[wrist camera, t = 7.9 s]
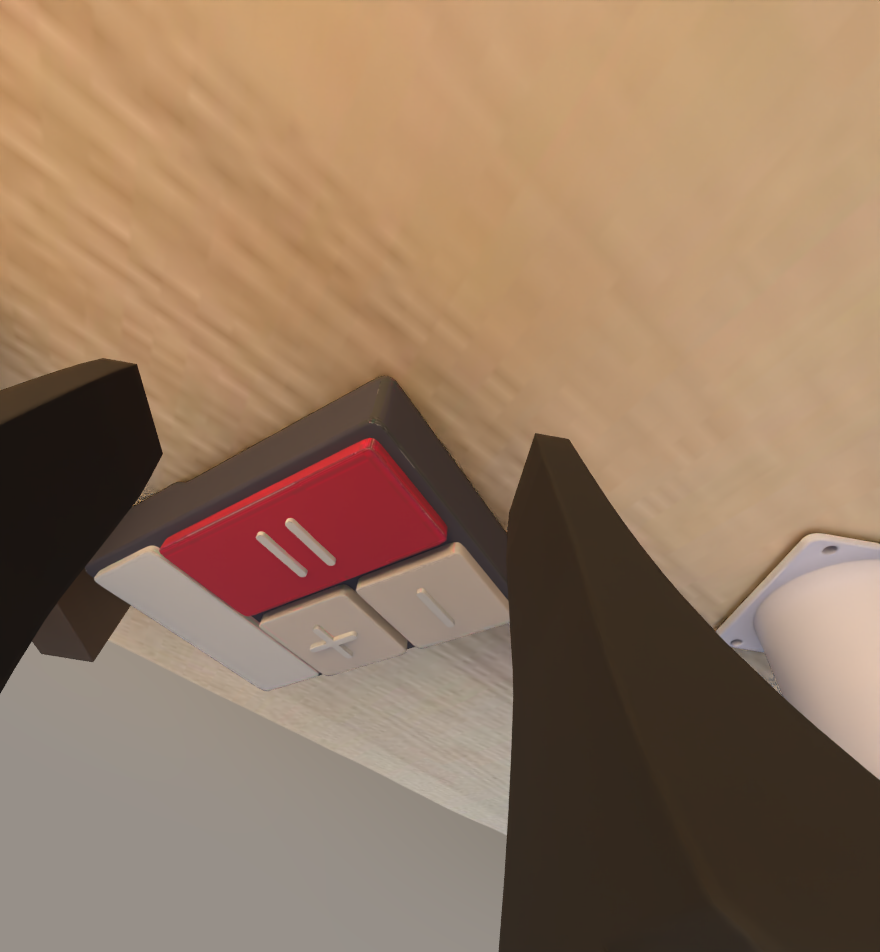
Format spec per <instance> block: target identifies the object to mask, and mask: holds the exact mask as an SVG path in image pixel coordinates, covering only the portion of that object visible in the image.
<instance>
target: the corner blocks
mask: <svg viewBox="0 0 880 952" xmlns="http://www.w3.org/2000/svg"><path fill="white" fill-rule="evenodd" d="M130 606H131V605H130V604H128V603H127V602H125V601H124V600H122V599H121V598H119V597H117V596H116V595H114V594H113V593H111V592H110V591H108V590H107V589H105V588H104V587H102V586H101V585H99V584H98V583H97V582H95V580H94V578H93V577H92V576H90V575H89V574H88V573H87V572H86V570H85V568H84V569H83V570H82V571H81V573H80V574H79V575H78V577H77V578H76V579H75V580H74V582H73V583H72V584H71V585H70V587H69V588H68V589H67V591H66V592H65V593H64V594H63V596H62V597H61V598H60V600H59V601H58V603H57V604H56V605H55V607H54V608H53V610H52V611H51V612H50V614H49V615H48V617H47V618H46V619H45V621H44V622H43V624H42V626H41V627H40V629H39V630H38V632H37V634H36V635H35V637H34V638H33V640H32V642H33V643H34V645H35V646H36V647H37V649H38V650H39V651H40V653H41V654H46V655H52V656H59V657H64V658H70V659H76V660H83V661H89V662H93V661H94V660H95V659H96V657H97V655H98V654H99V653H100V651H101V650H102V648H103V647H104V645H105V643H106V642H107V641H108V639H109V638H110V636H111V635H112V633H113V632H114V630H115V629H116V627H117V626H118V624H119V623H120V621H121V619H122V618H123V616H124V615H125V613H126V612H127V610H128V609H129V607H130Z"/></svg>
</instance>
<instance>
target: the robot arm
mask: <svg viewBox="0 0 880 952" xmlns="http://www.w3.org/2000/svg"><path fill="white" fill-rule="evenodd" d="M162 454H163V453H162V449H161V446H160V442H159V439H158V435H157V432H156V428H155V425H154V422H153V418H152V415H151V411H150V408H149V404H148V401H147V397H146V394H145V390H144V387H143V384H142V380H141V377H140V373H139V370H138V366H137V364H133V363H127V362H121V361H115V360H110V359H104V358H102V359H98V360H94V361H89V362H86V363H82V364H78V365H75V366H72V367H68V368H65V369H62V370H59V371H56V372H53V373H50V374H47V375H44V376H41V377H38V378H35V379H32V380H29V381H26V382H23V383H20V384H18V385H15V386H12V387H9V388H6V389H3V390H0V693H1V691H2V690H3V688H4V686H5V684H6V683H7V681H8V679H9V678H10V676H11V674H12V672H13V671H14V669H15V667H16V666H17V664H18V663H19V661H20V659H21V658H22V656H23V655H24V653H25V651H26V650H27V648H28V646H29V645H30V643H31V642H32V640H33V638H34V637H35V635H36V634H37V632H38V630H39V629H40V627H41V626H42V624H43V622H44V621H45V619H46V618H47V617H48V615H49V614H50V612H51V611H52V610H53V608H54V607H55V605H56V604H57V603H58V601H59V600H60V598H61V597H62V596H63V594H64V593H65V592H66V591H67V589H68V588H69V587H70V585H71V584H72V583H73V582H74V580H75V579H76V578H77V577H78V575H79V574H80V573H81V571H82V570H83V569H84V568H85V566H86V565H87V564H88V563H89V561H90V560H91V559H92V557H93V556H94V555H95V554H96V552H97V551H98V550H99V549H100V547H101V546H102V545H103V543H104V542H105V541H106V540H107V538H108V537H109V536H110V535H111V533H112V532H113V531H114V529H115V528H116V527H117V525H118V524H119V523H120V522H121V520H122V519H123V518H124V516H125V515H126V514H127V512H128V511H129V510H130V508H131V507H132V506H133V504H134V503H135V502H136V500H137V499H138V498H139V496H140V494H141V493H142V491H143V489H144V487H145V486H146V484H147V482H148V481H149V479H150V477H151V475H152V473H153V471H154V469H155V468H156V466H157V464H158V462H159V460H160V458H161V456H162ZM506 567H507V585H508V602H509V618H510V633H511V649H512V665H513V721H512V750H511V771H510V792H509V812H508V828H507V844H506V860H505V861H506V862H505V876H504V877H505V878H504V890H503V903H502V916H501V929H500V942H499V952H880V543H875V542H869V541H863V540H858V539H852V538H846V537H840V536H835V535H829V534H823V533H813V534H809V535H807V536H805V537H804V538H803V539H802V540H801V541H800V542H799V543H798V544H797V545H796V546H795V547H794V548H793V549H792V550H791V551H790V552H789V553H788V554H787V556H786V557H785V558H784V559H783V560H782V561H781V562H780V563H779V564H778V565H777V566H776V567H775V568H774V569H773V570H772V572H771V573H770V574H769V575H768V576H767V577H766V578H765V579H764V580H763V581H762V582H761V583H760V584H759V585H758V587H757V588H756V589H755V590H754V591H753V592H752V593H751V594H750V595H749V596H748V597H747V598H746V599H745V600H744V601H743V603H742V604H741V605H740V606H739V607H738V608H737V609H736V610H735V611H734V612H733V613H732V614H731V615H730V616H729V617H728V619H727V620H726V621H725V622H724V623H723V624H722V625H721V626H720V627H719V628H718V629H717V630H716V631H714V630H713V629H712V627H711V626H710V625H709V624H708V623H707V622H706V621H705V620H704V619H703V618H702V617H701V615H700V614H699V613H698V612H697V611H696V610H695V609H694V608H693V607H692V606H691V605H690V604H689V602H688V601H687V600H686V599H685V598H684V597H683V596H682V595H681V594H680V593H679V591H678V590H677V589H676V588H675V587H674V586H673V584H672V583H671V582H670V581H669V580H668V579H667V577H666V576H665V575H664V574H663V573H662V571H661V570H660V569H659V568H658V566H657V565H656V564H655V563H654V561H653V560H652V559H651V557H650V556H649V555H648V554H647V552H646V551H645V550H644V549H643V547H642V546H641V545H640V544H639V542H638V541H637V540H636V538H635V537H634V536H633V534H632V533H631V532H630V530H629V529H628V528H627V526H626V525H625V523H624V522H623V521H622V519H621V518H620V516H619V515H618V513H617V512H616V511H615V509H614V508H613V506H612V505H611V503H610V502H609V501H608V499H607V498H606V496H605V495H604V493H603V492H602V490H601V489H600V487H599V485H598V484H597V482H596V481H595V479H594V478H593V476H592V475H591V473H590V472H589V470H588V468H587V467H586V465H585V464H584V462H583V461H582V459H581V458H580V456H579V454H578V453H577V451H576V450H575V448H574V447H573V445H572V443H571V442H570V440H569V439H565V438H559V437H554V436H548V435H542V434H536V433H535V436H534V439H533V442H532V445H531V448H530V451H529V454H528V457H527V460H526V463H525V466H524V469H523V472H522V475H521V478H520V481H519V484H518V487H517V490H516V493H515V496H514V499H513V502H512V505H511V509H510V512H509V521H508V536H507V553H506ZM731 647H734V648H740V649H746V650H752V651H758V652H764V653H765V655H766V657H767V660H768V662H769V664H770V667H771V669H772V671H773V674H774V676H775V678H776V681H777V683H778V685H779V688H780V690H781V692H782V695H783V697H782V696H781V695H780V694H779V693H778V692H777V691H776V690H775V689H774V688H773V687H772V686H771V685H770V684H769V683H768V682H767V681H765V680H764V679H763V678H762V677H761V676H760V675H759V674H758V673H757V672H756V671H755V670H754V669H753V668H752V667H751V666H750V665H749V664H748V663H747V662H746V661H744V660H743V659H742V658H741V657H740V656H739V655H738V654H737V653H736V652H735V651H734V650H733V649H732V648H731Z"/></svg>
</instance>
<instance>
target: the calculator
mask: <svg viewBox="0 0 880 952" xmlns="http://www.w3.org/2000/svg"><path fill="white" fill-rule="evenodd" d="M507 536H508V535H507V533H506V532H505V531H504V529H503V528H502V527H501V525H500V524H499V522H498V521H497V520H496V518H495V517H494V516H493V514H492V513H491V511H490V510H489V509H488V507H487V506H486V505H485V503H484V502H483V500H482V499H481V498H480V496H479V495H478V493H477V492H476V491H475V489H474V488H473V487H472V485H471V484H470V482H469V481H468V480H467V478H466V477H465V476H464V474H463V473H462V471H461V470H460V469H459V467H458V466H457V465H456V463H455V462H454V460H453V459H452V458H451V456H450V455H449V454H448V452H447V451H446V449H445V448H444V447H443V445H442V444H441V442H440V441H439V440H438V438H437V437H436V436H435V434H434V433H433V431H432V430H431V429H430V427H429V426H428V425H427V423H426V422H425V420H424V419H423V418H422V416H421V415H420V414H419V412H418V411H417V409H416V408H415V407H414V405H413V404H412V402H411V401H410V400H409V398H408V397H407V396H406V394H405V393H404V391H403V390H402V389H401V387H400V386H399V385H398V383H397V382H396V381H395V380H394V379H392V378H391V377H388V376H381V377H378V378H376V379H374V380H372V381H370V382H369V383H367V384H365V385H363V386H361V387H359V388H358V389H356V390H354V391H352V392H350V393H349V394H347V395H345V396H343V397H341V398H339V399H338V400H336V401H334V402H332V403H330V404H329V405H327V406H325V407H323V408H321V409H319V410H318V411H316V412H314V413H312V414H310V415H309V416H307V417H305V418H303V419H301V420H299V421H298V422H296V423H294V424H292V425H290V426H288V427H287V428H285V429H283V430H281V431H279V432H278V433H276V434H274V435H272V436H270V437H268V438H267V439H265V440H263V441H261V442H259V443H258V444H256V445H254V446H252V447H250V448H248V449H247V450H245V451H243V452H241V453H239V454H238V455H236V456H234V457H232V458H230V459H228V460H227V461H225V462H223V463H221V464H219V465H218V466H216V467H214V468H212V469H210V470H208V471H207V472H205V473H203V474H201V475H199V476H197V477H196V478H194V479H192V480H190V481H188V482H186V483H185V482H177V483H175V484H173V485H171V486H169V487H168V488H166V489H164V490H162V491H160V492H159V493H157V494H155V495H153V496H151V497H149V498H148V499H146V500H144V501H142V502H140V503H139V504H137V505H135V506H133V507H132V508H130V510H129V511H128V512H127V514H126V515H125V516H124V518H123V519H122V520H121V522H120V523H119V524H118V525H117V527H116V528H115V529H114V531H113V532H112V533H111V535H110V536H109V537H108V538H107V540H106V541H105V542H104V543H103V545H102V546H101V547H100V549H99V550H98V551H97V552H96V554H95V555H94V556H93V557H92V559H91V560H90V561H89V563H88V564H87V565H86V566H85V570H86V572H87V573H88V574H89V575H90V576H92V577H93V578H94V580H95V582H97V583H98V584H99V585H101V586H102V587H104V588H105V589H107V590H108V591H110V592H111V593H113V594H114V595H116V596H117V597H119V598H121V599H122V600H124V601H125V602H127V603H128V604H130V605H131V606H133V607H134V608H136V609H137V610H139V611H141V612H142V613H144V614H145V615H147V616H148V617H150V618H151V619H153V620H154V621H156V622H157V623H159V624H161V625H162V626H164V627H165V628H167V629H168V630H170V631H171V632H173V633H174V634H176V635H177V636H179V637H181V638H182V639H184V640H185V641H187V642H188V643H190V644H191V645H193V646H194V647H196V648H198V649H199V650H201V651H202V652H204V653H205V654H207V655H208V656H210V657H211V658H213V659H214V660H216V661H218V662H219V663H221V664H222V665H224V666H225V667H227V668H228V669H230V670H231V671H233V672H234V673H236V674H238V675H239V676H241V677H242V678H244V679H245V680H247V681H248V682H250V683H251V684H253V685H254V686H256V687H258V688H259V689H261V690H263V691H271V690H274V689H277V688H281V687H284V686H287V685H291V684H294V683H297V682H301V681H304V680H308V679H311V678H314V677H316V676H319V675H322V674H323V675H325V676H331V675H336V674H339V673H342V672H346V671H349V670H352V669H356V668H359V667H363V666H366V665H369V664H373V663H376V662H380V661H383V660H386V659H390V658H393V657H396V656H400V655H403V654H405V653H406V651H407V649H409V648H412V647H417V648H421V649H422V648H427V647H430V646H434V645H437V644H441V643H444V642H447V641H451V640H454V639H457V638H461V637H464V636H468V635H471V634H474V633H478V632H481V631H484V630H488V629H491V628H495V627H498V626H501V625H505V624H508V623H510V618H509V602H508V585H507V567H506V553H507Z"/></svg>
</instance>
